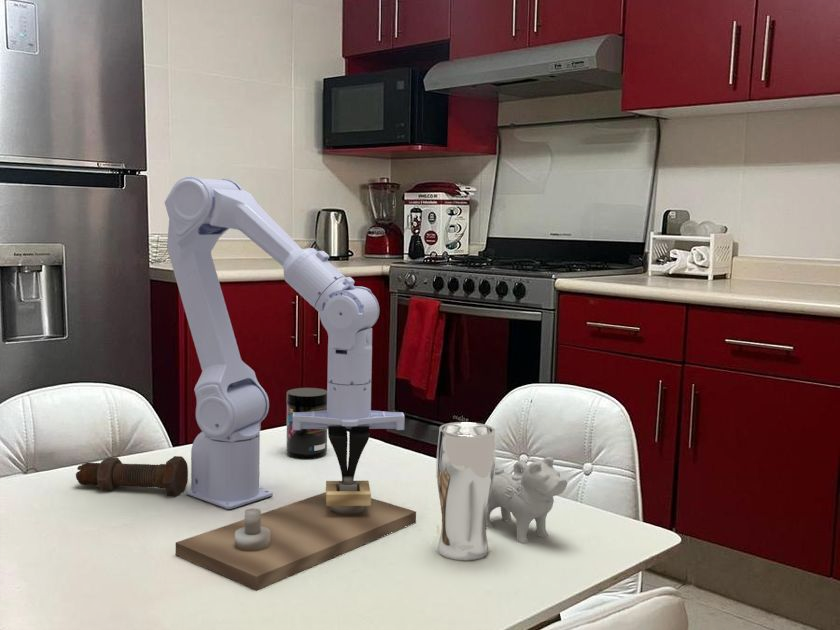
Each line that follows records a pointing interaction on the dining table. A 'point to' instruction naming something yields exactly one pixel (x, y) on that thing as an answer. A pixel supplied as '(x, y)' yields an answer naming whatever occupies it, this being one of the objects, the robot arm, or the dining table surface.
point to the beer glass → (465, 488)
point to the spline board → (291, 537)
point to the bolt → (135, 475)
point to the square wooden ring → (348, 495)
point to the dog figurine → (526, 495)
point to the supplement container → (306, 440)
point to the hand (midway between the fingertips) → (347, 482)
